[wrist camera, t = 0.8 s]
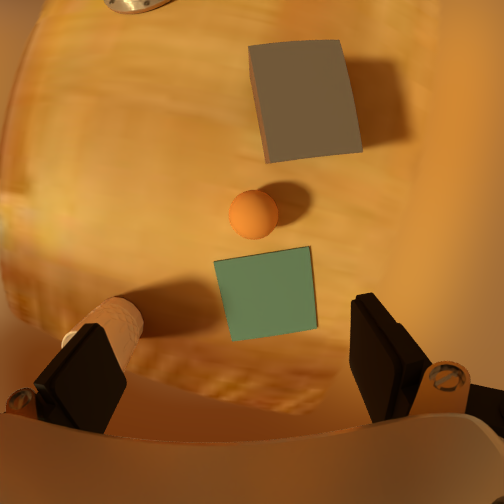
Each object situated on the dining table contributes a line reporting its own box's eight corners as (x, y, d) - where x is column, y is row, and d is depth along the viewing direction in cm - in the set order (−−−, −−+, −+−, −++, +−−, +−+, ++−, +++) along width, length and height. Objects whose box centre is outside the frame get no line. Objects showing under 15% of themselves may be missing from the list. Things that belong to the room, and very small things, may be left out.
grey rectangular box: (249, 75, 27) (248, 46, 19) (318, 68, 27) (339, 39, 19) (265, 163, 30) (270, 163, 22) (334, 154, 30) (362, 152, 22)
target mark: (213, 261, 34) (213, 262, 34) (308, 246, 33) (309, 246, 33) (232, 340, 37) (232, 341, 37) (316, 327, 36) (316, 328, 36)
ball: (227, 192, 31) (222, 197, 27) (272, 184, 31) (276, 188, 26) (235, 236, 33) (232, 249, 28) (279, 229, 33) (284, 240, 28)
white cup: (156, 311, 36) (128, 356, 26) (138, 351, 38) (113, 397, 28) (104, 281, 35) (65, 318, 25) (92, 324, 37) (58, 364, 27)
